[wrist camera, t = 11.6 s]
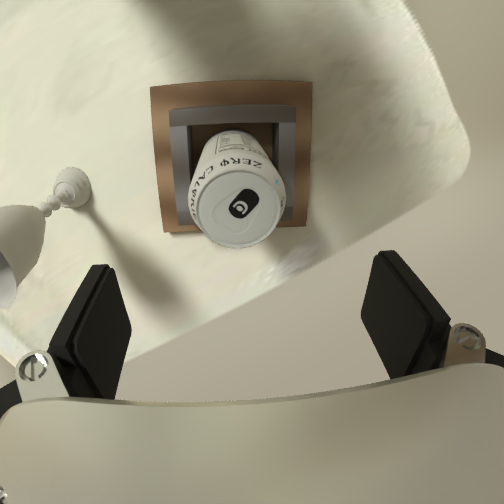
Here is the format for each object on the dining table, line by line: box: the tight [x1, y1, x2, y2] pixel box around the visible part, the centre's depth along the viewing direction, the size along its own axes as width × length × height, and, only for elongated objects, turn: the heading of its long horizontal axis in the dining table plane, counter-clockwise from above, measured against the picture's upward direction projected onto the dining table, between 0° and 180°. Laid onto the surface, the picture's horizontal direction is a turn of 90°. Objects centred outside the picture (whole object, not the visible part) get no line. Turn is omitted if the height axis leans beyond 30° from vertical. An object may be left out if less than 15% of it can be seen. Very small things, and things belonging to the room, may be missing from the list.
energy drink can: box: [188, 128, 286, 248], centre depth 24 cm, size 6×6×15 cm
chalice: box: [0, 167, 91, 309], centre depth 23 cm, size 7×7×18 cm
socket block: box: [150, 80, 312, 232], centre depth 29 cm, size 16×16×5 cm
